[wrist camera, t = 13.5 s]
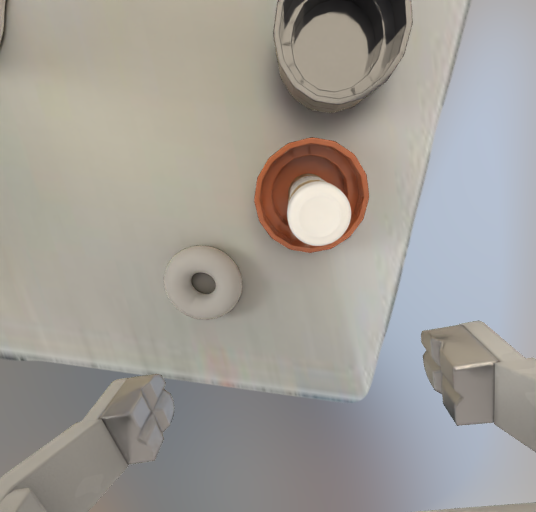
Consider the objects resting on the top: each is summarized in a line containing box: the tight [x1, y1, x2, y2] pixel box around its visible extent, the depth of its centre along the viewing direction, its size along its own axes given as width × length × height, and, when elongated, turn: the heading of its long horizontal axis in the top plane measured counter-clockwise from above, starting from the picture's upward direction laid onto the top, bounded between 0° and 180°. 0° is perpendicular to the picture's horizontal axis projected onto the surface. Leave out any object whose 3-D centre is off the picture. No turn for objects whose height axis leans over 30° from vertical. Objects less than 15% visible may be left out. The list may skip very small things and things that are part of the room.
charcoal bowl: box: [273, 0, 413, 113], centre depth 26 cm, size 11×11×6 cm
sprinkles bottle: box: [287, 173, 351, 246], centre depth 26 cm, size 5×5×13 cm
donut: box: [164, 245, 242, 320], centre depth 36 cm, size 10×4×10 cm
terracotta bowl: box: [254, 137, 369, 253], centre depth 31 cm, size 11×11×6 cm
